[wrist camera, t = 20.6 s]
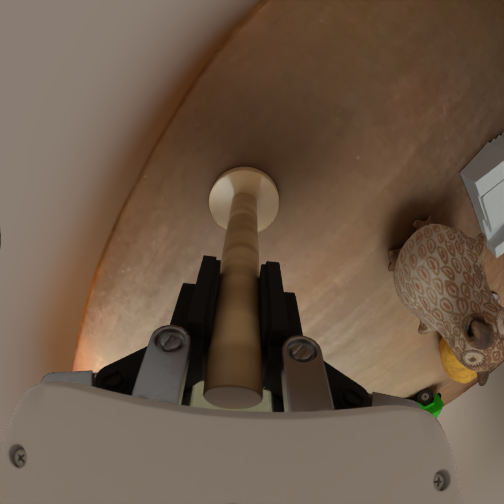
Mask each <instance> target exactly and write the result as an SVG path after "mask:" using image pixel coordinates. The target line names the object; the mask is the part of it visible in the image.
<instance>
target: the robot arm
mask: <svg viewBox="0 0 504 504" xmlns="http://www.w3.org/2000/svg"><path fill="white" fill-rule="evenodd" d="M220 266H221V260H216V257H214V256H203V260H202V263H201V267H200V271H199V274H198V278H197V282H196V284H188V283H183V285H182V288H181V291H180V294H179V297H178V300H177V303H176V307H175V310H174V313H173V316H172V320H171V323H170V325H166V326H162V327H160V328H158V329H157V330H155V331H154V332H153V334H152V336H151V338H150V341H149V344H148V346H147V347H145V348H143V349H141V350H139V351H136V352H134V353H132V354H130V355H128V356H126V357H124V358H122V359H120V360H118V361H116V362H114V363H112V364H110V365H107V366H105V367H104V368H102V369H101V370H100V371H99V372H98V373H93V371H76V372H53V373H48V374H47V375H45V376H44V377H43V378H42V380H41V382H40V383H39V384H36V385H34V386H32V387H30V388H29V389H28V390H27V391H26V392H25V393H24V395H23V396H22V397H21V399H20V401H19V403H18V405H17V406H16V408H15V410H14V412H13V414H12V416H11V419H10V421H9V424H8V426H7V429H6V431H5V434H4V437H3V440H2V443H1V447H0V504H463V499H462V494H461V488H460V483H459V478H458V474H457V470H456V465H455V461H454V458H453V455H452V451H451V449H450V445H449V443H448V440H447V437H446V435H445V433H444V430H443V428H442V426H441V424H440V423H439V421H438V420H437V418H436V417H435V416H434V415H433V414H431V413H430V412H428V411H425V410H423V409H421V408H420V406H419V404H418V403H416V402H415V401H413V400H411V399H405V398H400V397H395V396H390V395H385V394H381V393H376V392H373V393H372V394H369V393H367V391H366V390H365V389H364V388H363V387H362V386H360V385H359V384H357V383H356V382H354V381H353V380H351V379H350V378H348V377H347V376H345V375H344V374H342V373H341V372H339V371H338V370H336V369H335V368H334V367H332V366H331V365H329V364H328V363H326V362H325V361H324V360H323V356H322V351H321V349H320V346H319V345H318V344H317V342H316V341H314V340H313V339H311V338H309V337H306V336H303V333H302V328H301V322H300V317H299V312H298V306H297V301H296V296H295V293H290V292H284V291H283V284H282V277H281V271H280V264H279V262H269V261H267V262H266V264H261V269H260V276H259V289H260V325H261V349H262V374H263V386H265V387H266V388H267V389H268V390H269V392H268V397H269V412H249V411H232V410H219V409H209V408H200V407H192V402H193V395H194V389H195V384H197V383H199V382H200V381H202V380H203V379H205V372H206V364H207V356H208V349H209V345H210V341H211V333H212V326H213V319H214V312H215V305H216V298H217V291H218V285H219V278H220Z"/></svg>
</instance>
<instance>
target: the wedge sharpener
mask: <svg viewBox="0 0 504 504" xmlns="http://www.w3.org/2000/svg"><path fill="white" fill-rule="evenodd" d="M460 175H461V177H462V179H463V182H464V184H465V187H466V189H467V191H468V194H469V197H470V199H471V202H472V205H473V207H474V210H475V213H476V216H477V219H478V222H479V225H480V228H481V231H482V233H483V234H485V235H486V238H487V246H486V247H487V248H488V249H489V250H490V251H491V252H492V253H493V254H494V255H495V256H496V258H497V257H499V256H500V255H502V254H503V253H504V131H503V133H502V135H498V137H497V139H494V138H493V140H492V141H491V143H489V142H487V144H486V145H485V146H484V147H483V148H482V149H481V150H480V151H479V153H478V154H477V155H476V156H475V157H474V158H473V159H472V160H471V161H470V162H469V163H468V165H467V166H466V167H465V168H464V169H463V170H462V171H461V172H460Z"/></svg>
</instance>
